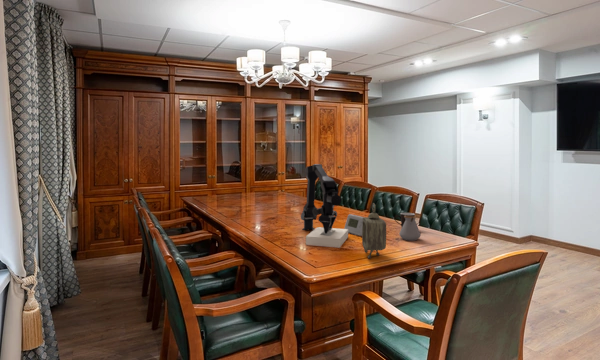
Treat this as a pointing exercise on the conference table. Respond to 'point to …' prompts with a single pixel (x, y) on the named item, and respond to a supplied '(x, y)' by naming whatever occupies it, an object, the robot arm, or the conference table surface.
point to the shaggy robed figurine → (373, 233)
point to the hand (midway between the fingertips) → (328, 231)
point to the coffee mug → (403, 217)
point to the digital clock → (354, 224)
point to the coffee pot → (410, 229)
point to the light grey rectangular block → (328, 232)
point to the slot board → (327, 237)
